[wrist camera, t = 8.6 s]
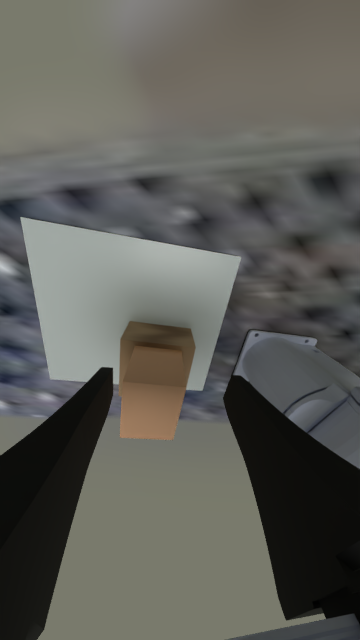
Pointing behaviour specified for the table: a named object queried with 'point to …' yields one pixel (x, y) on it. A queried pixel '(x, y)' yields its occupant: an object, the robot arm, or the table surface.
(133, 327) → the walnut block
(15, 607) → the robot arm
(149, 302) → the baseplate
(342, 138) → the table surface
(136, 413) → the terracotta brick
